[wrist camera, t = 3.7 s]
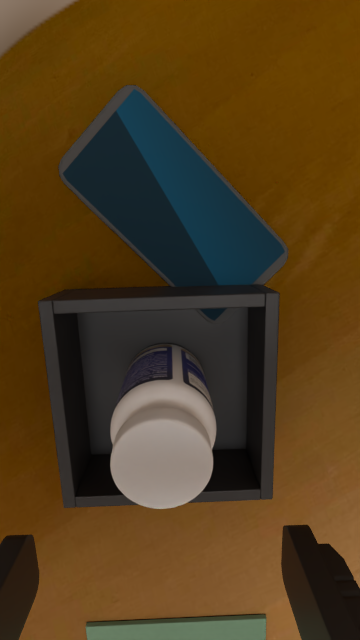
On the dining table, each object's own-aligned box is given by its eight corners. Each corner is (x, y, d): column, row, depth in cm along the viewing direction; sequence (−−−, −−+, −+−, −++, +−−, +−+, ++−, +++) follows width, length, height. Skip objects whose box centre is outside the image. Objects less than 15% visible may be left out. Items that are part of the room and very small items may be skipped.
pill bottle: (120, 406, 25) (87, 509, 15) (134, 334, 24) (107, 396, 14) (195, 420, 25) (209, 529, 16) (212, 350, 24) (239, 420, 15)
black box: (83, 461, 26) (63, 508, 22) (64, 289, 23) (37, 300, 19) (255, 454, 27) (272, 499, 22) (258, 283, 24) (279, 292, 19)
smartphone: (214, 328, 25) (215, 331, 24) (54, 173, 22) (49, 170, 21) (291, 253, 23) (296, 253, 23) (132, 81, 21) (130, 73, 20)
